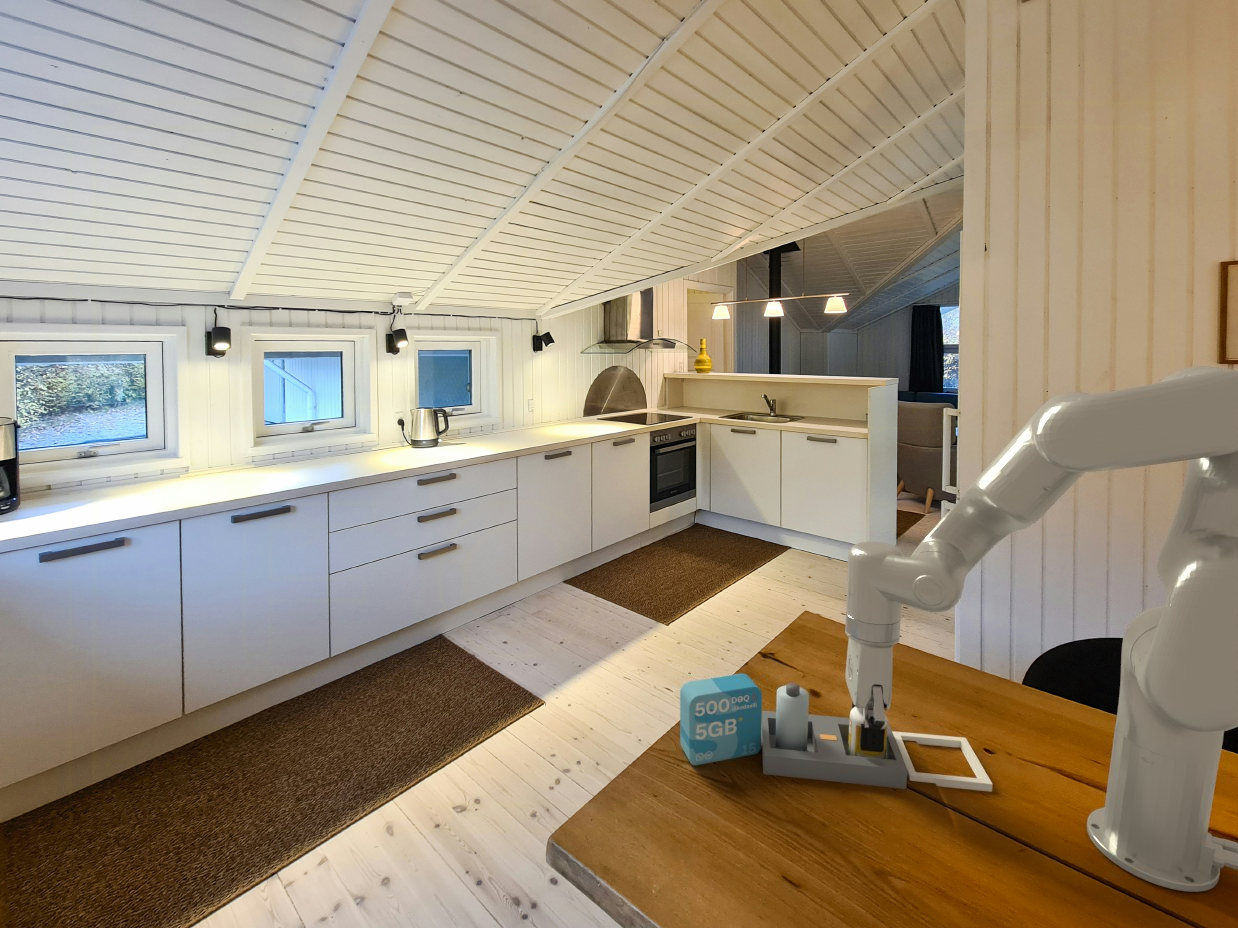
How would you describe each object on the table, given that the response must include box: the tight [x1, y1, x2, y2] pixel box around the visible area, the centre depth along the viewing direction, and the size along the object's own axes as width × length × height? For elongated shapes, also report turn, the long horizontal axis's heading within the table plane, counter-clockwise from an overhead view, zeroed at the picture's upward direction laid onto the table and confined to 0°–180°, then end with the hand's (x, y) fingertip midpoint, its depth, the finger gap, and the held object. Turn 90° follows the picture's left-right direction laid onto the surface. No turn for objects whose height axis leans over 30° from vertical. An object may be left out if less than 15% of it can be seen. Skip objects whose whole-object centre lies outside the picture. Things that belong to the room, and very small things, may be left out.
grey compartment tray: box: [761, 710, 908, 790], centre depth 96 cm, size 20×12×4 cm, turn 79°
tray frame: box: [892, 730, 993, 793], centre depth 95 cm, size 11×11×1 cm
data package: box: [679, 673, 763, 766], centre depth 97 cm, size 12×4×12 cm, turn 104°
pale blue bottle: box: [775, 682, 810, 751], centre depth 97 cm, size 5×5×11 cm
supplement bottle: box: [848, 701, 889, 759], centre depth 95 cm, size 5×5×10 cm
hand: (866, 734), depth 95 cm, fingers open, 6 cm apart
